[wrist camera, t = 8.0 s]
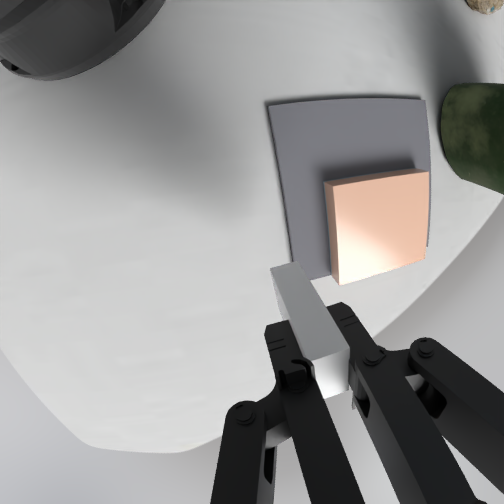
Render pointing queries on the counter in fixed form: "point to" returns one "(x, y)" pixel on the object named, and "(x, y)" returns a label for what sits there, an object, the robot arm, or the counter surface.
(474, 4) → the rock
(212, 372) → the counter surface
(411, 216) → the tile
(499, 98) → the green bottle
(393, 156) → the mat
